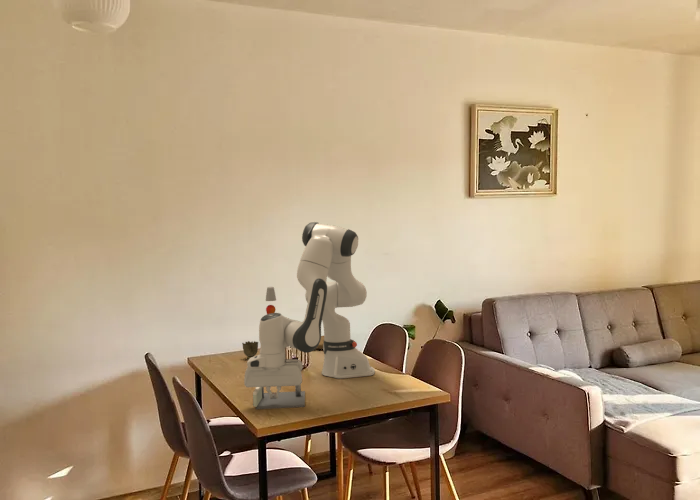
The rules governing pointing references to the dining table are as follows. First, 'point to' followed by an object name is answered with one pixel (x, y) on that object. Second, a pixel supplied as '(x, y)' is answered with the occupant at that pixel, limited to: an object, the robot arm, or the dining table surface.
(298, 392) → the posts
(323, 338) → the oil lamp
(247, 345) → the cup
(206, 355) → the dining table surface
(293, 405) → the yard mat
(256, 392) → the cream plank
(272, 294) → the lava lamp
